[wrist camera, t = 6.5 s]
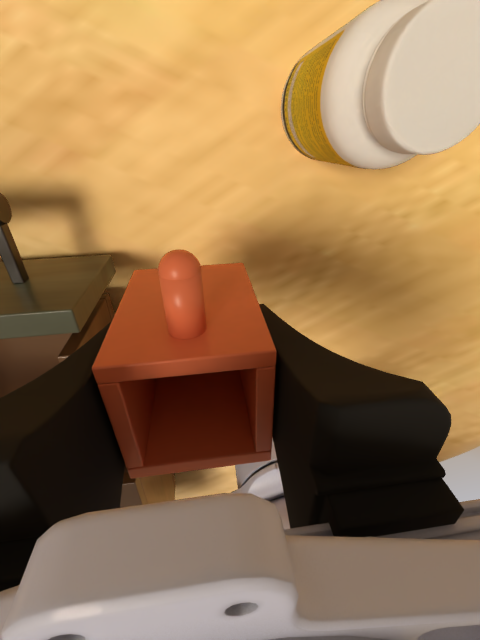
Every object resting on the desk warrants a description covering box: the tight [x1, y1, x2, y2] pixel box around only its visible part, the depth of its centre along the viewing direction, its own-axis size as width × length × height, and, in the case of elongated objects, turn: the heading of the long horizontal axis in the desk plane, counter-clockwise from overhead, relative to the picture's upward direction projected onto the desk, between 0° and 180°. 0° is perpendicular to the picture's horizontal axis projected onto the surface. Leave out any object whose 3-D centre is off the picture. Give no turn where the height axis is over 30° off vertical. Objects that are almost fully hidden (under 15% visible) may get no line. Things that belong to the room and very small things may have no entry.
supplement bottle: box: [281, 0, 480, 169], centre depth 13 cm, size 5×5×10 cm
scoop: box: [92, 250, 277, 478], centre depth 10 cm, size 6×4×6 cm
